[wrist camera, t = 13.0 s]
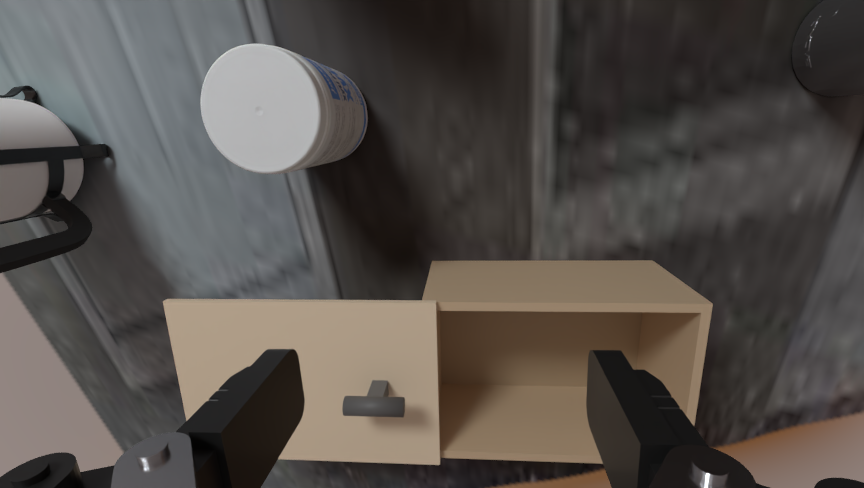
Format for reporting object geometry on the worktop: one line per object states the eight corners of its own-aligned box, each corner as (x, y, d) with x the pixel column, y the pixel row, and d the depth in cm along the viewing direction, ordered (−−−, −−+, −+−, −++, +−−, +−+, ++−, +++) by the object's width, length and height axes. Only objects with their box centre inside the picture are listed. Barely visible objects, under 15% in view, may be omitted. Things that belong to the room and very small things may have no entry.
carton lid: (436, 300, 37) (432, 321, 33) (440, 460, 42) (437, 496, 38) (167, 298, 39) (132, 318, 35) (197, 451, 44) (169, 484, 40)
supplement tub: (380, 85, 45) (340, 66, 31) (356, 174, 47) (308, 194, 33) (291, 54, 45) (209, 21, 30) (271, 144, 47) (187, 152, 33)
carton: (652, 260, 47) (712, 303, 36) (638, 390, 51) (688, 466, 40) (432, 260, 49) (421, 302, 38) (435, 385, 53) (426, 457, 42)
